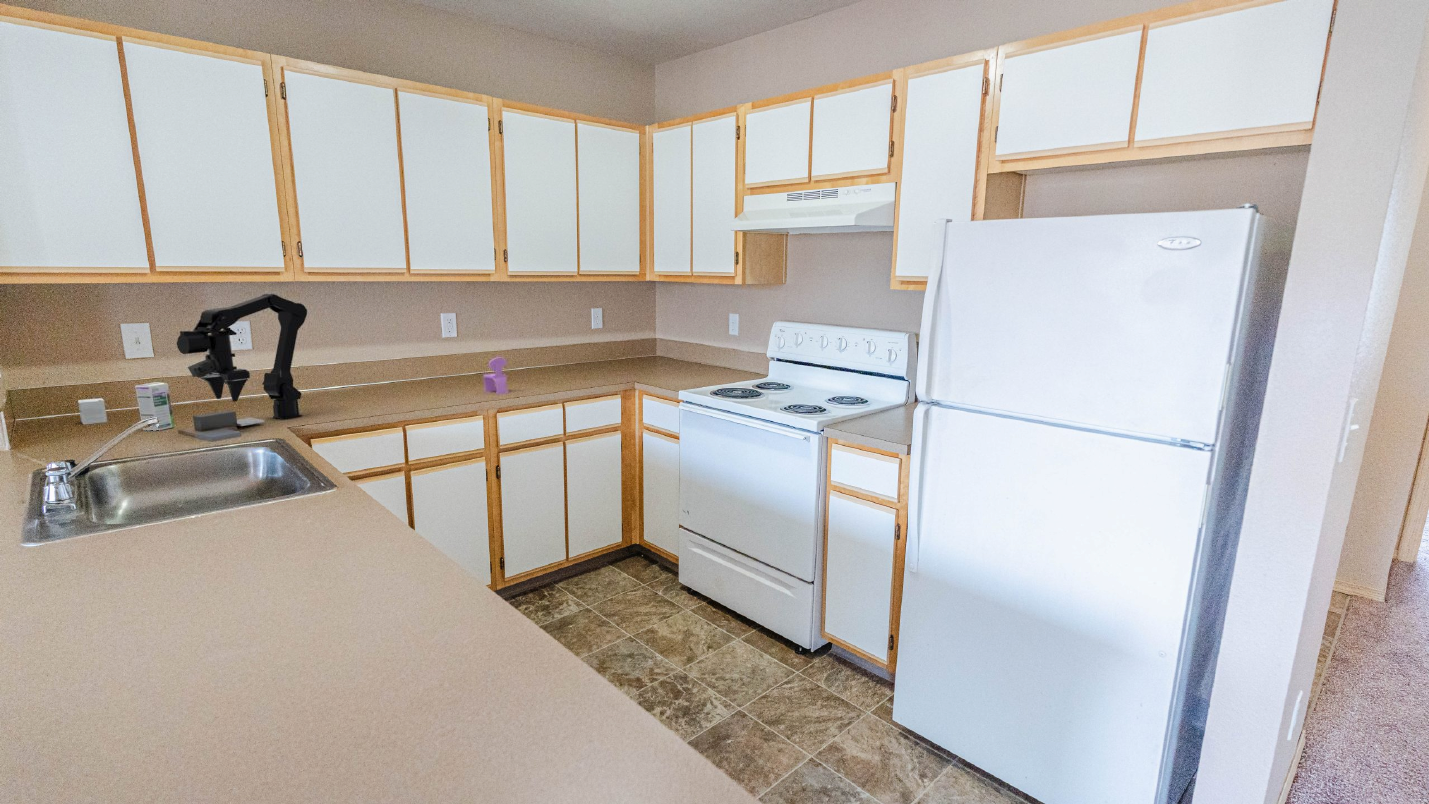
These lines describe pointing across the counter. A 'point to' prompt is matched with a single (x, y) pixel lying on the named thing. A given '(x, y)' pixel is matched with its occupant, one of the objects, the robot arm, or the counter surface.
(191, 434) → the plate
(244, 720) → the counter surface
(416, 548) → the counter surface
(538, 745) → the counter surface
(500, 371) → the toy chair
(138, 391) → the syrup box
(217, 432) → the tile
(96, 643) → the counter surface
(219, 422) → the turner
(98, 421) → the skincare box
